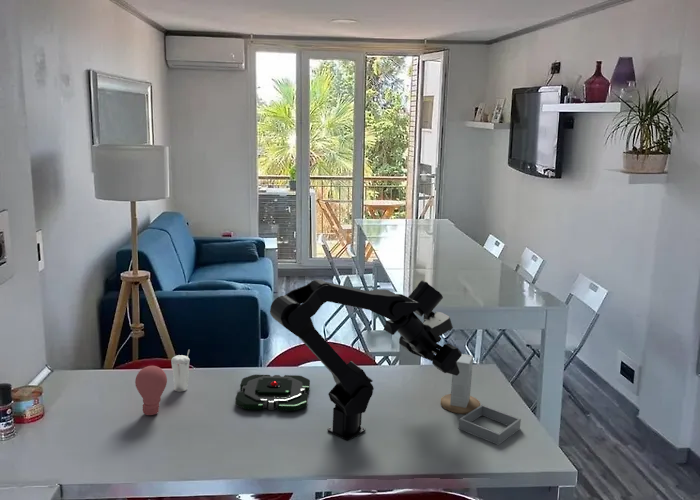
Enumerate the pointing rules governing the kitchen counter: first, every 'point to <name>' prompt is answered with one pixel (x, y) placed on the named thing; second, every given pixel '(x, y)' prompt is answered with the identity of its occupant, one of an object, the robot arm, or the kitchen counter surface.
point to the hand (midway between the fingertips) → (446, 367)
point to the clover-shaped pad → (273, 392)
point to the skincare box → (462, 382)
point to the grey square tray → (484, 432)
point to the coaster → (471, 406)
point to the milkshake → (180, 372)
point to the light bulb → (151, 387)
